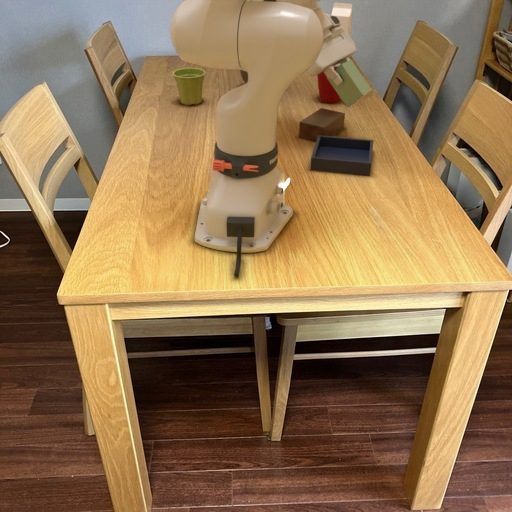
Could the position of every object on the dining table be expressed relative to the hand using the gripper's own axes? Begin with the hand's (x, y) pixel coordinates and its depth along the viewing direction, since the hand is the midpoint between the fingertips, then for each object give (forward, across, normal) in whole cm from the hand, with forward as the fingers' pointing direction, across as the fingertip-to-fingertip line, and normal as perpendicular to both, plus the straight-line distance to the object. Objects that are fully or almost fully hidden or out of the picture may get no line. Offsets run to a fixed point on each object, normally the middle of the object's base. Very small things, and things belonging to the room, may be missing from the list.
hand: (346, 79), depth 134 cm
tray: (+15, -12, +6) cm, 20 cm away
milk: (-7, +49, +28) cm, 57 cm away
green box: (+5, 0, +4) cm, 6 cm away
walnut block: (+7, 0, +15) cm, 16 cm away
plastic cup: (0, +24, +21) cm, 32 cm away
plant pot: (-24, 0, +45) cm, 51 cm away
